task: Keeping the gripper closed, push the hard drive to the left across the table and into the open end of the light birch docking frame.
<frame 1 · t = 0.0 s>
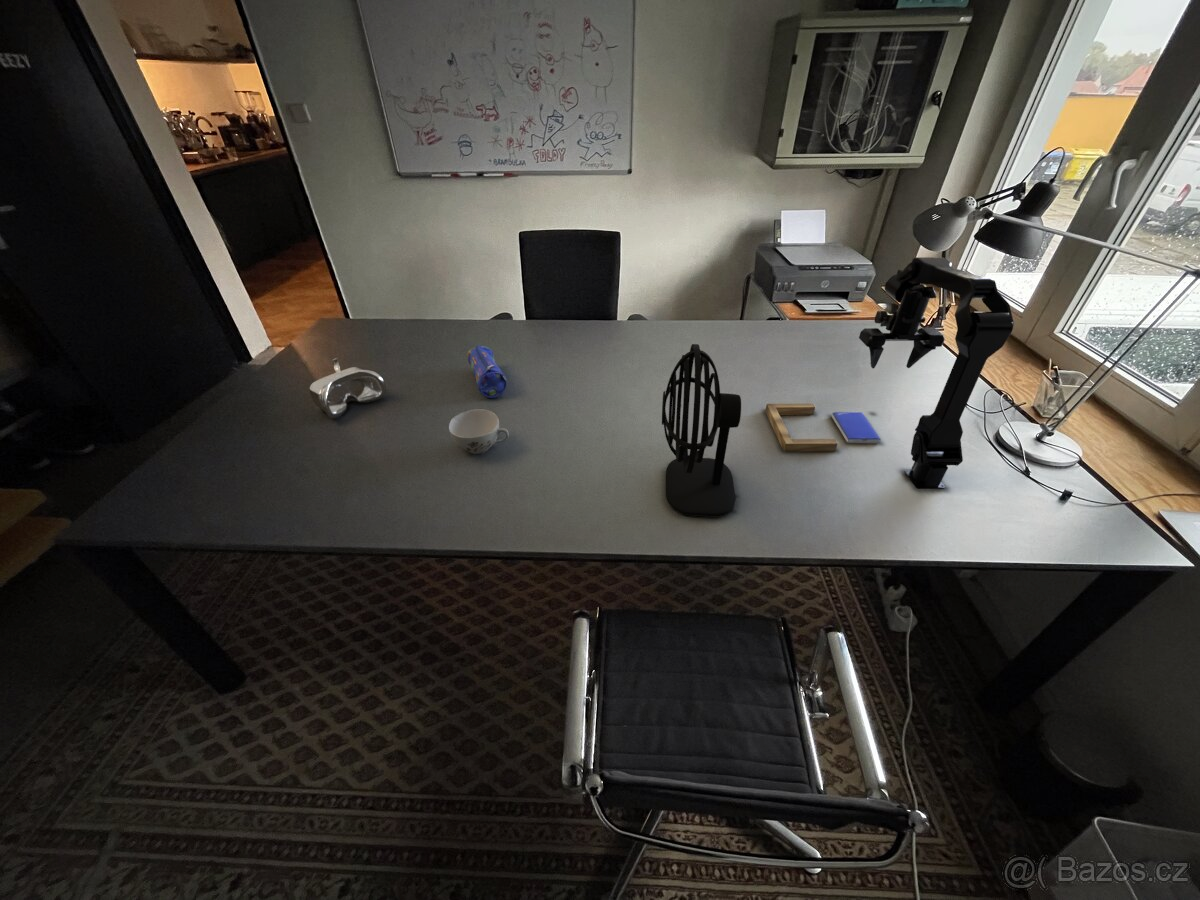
hand: (890, 367, 132), 15 cm above the table, tool pointing down, fingers open, 9 cm apart
teacup: (483, 448, 132), on the table
pencil case: (488, 383, 159), on the table
hard drive: (854, 430, 135), on the table
dock: (801, 430, 135), on the table
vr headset: (352, 406, 149), on the table
desk fan: (694, 487, 118), on the table
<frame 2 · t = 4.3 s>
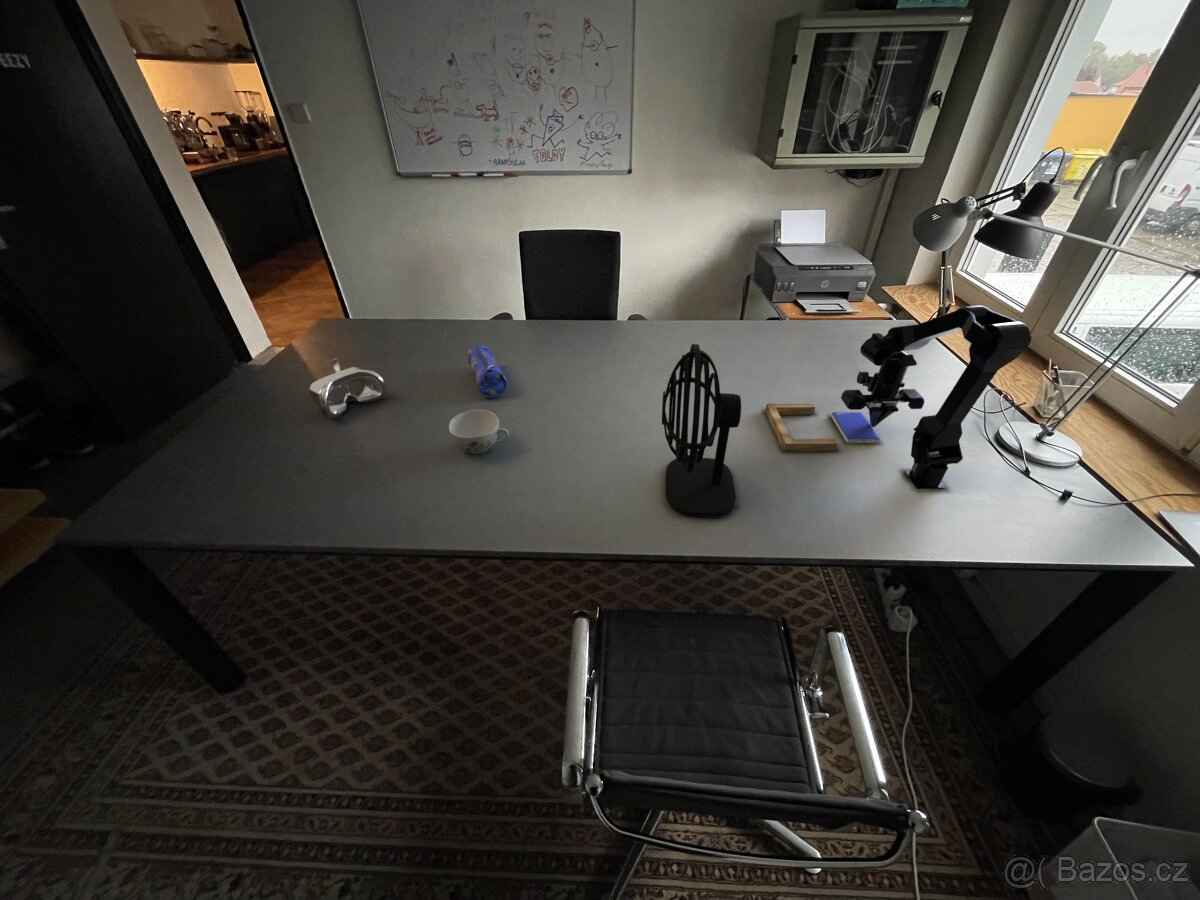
hand: (872, 426, 135), 1 cm above the table, tool pointing down, fingers closed
hard drive: (853, 430, 135), on the table, touching gripper
everything else where it was.
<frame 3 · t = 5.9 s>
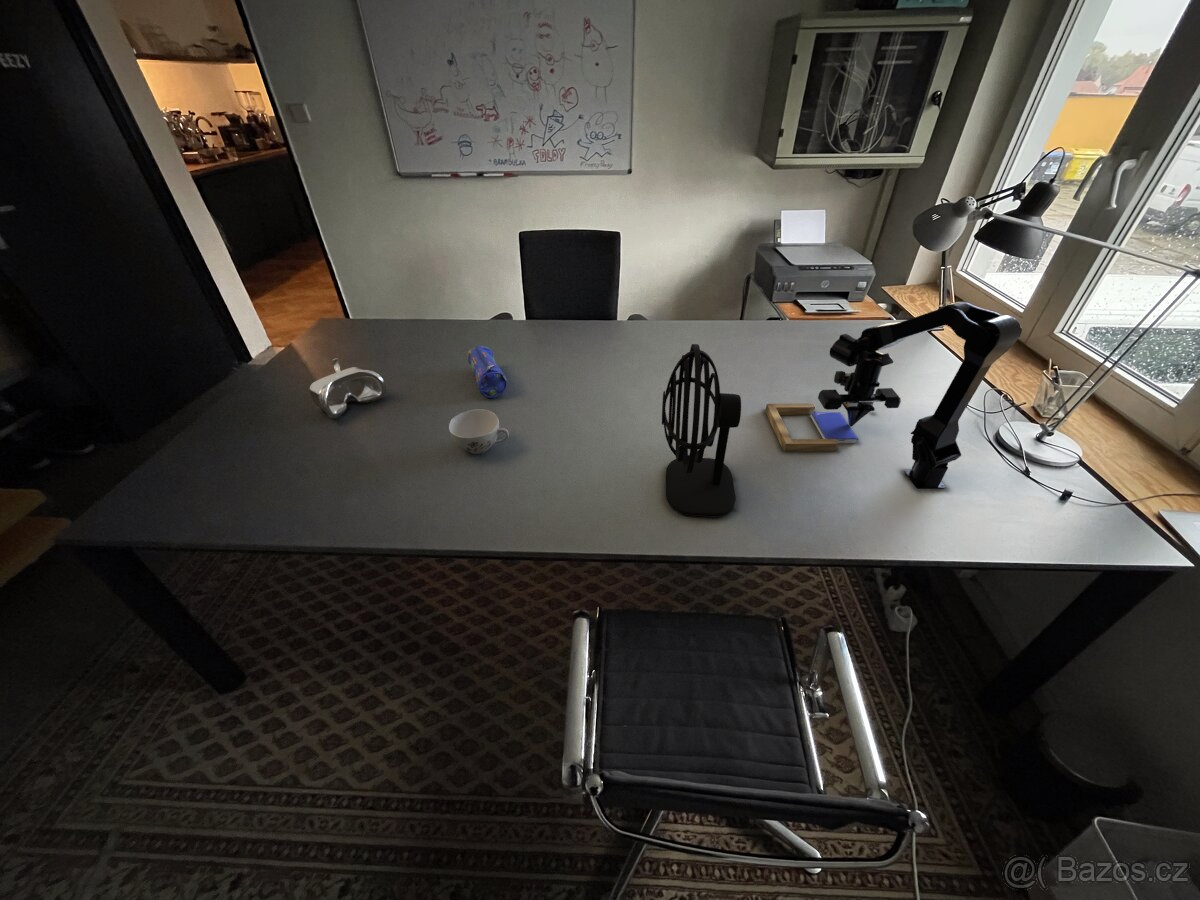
hand: (850, 425, 135), 1 cm above the table, tool pointing down, fingers closed
hard drive: (832, 430, 135), on the table, touching gripper
everything else where it was.
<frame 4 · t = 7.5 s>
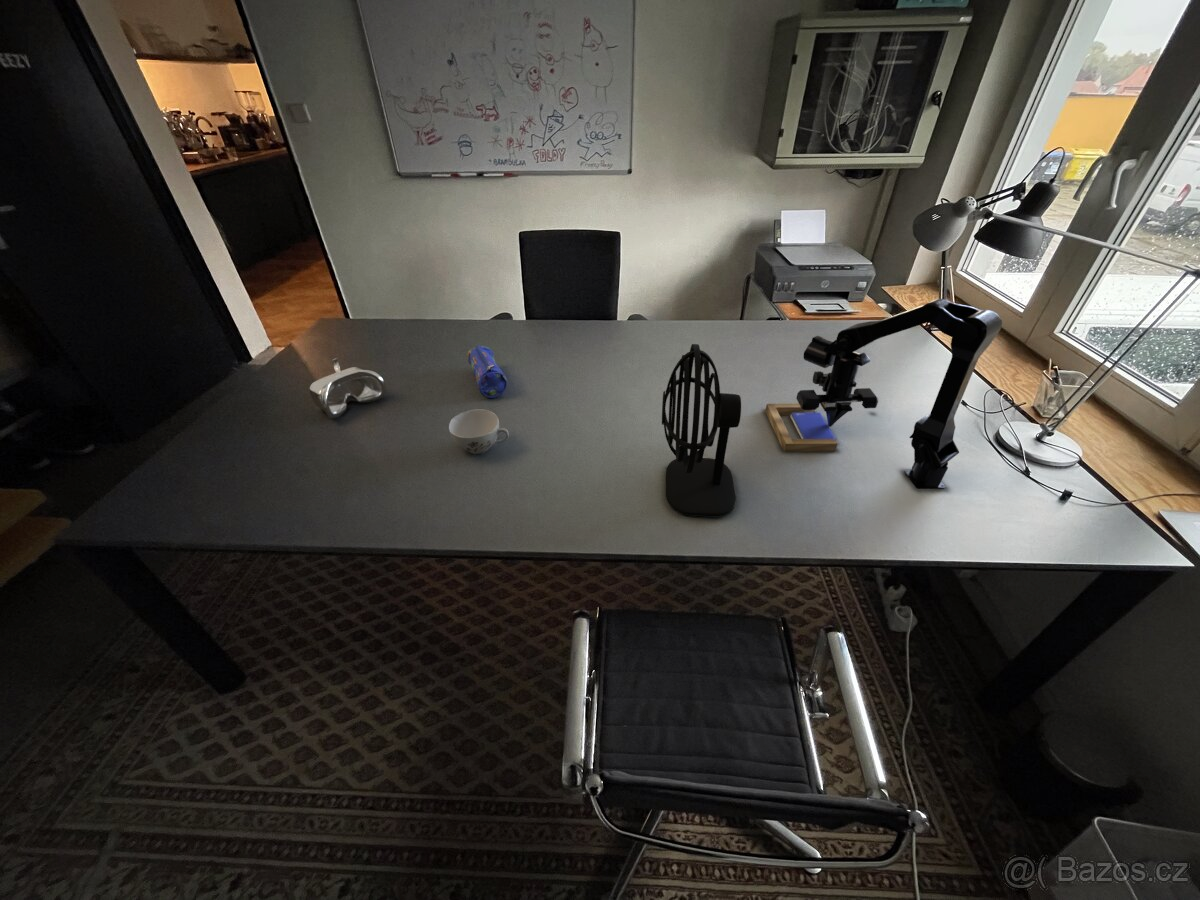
hand: (829, 425, 135), 1 cm above the table, tool pointing down, fingers closed
hard drive: (811, 430, 136), on the table, touching gripper
everything else where it was.
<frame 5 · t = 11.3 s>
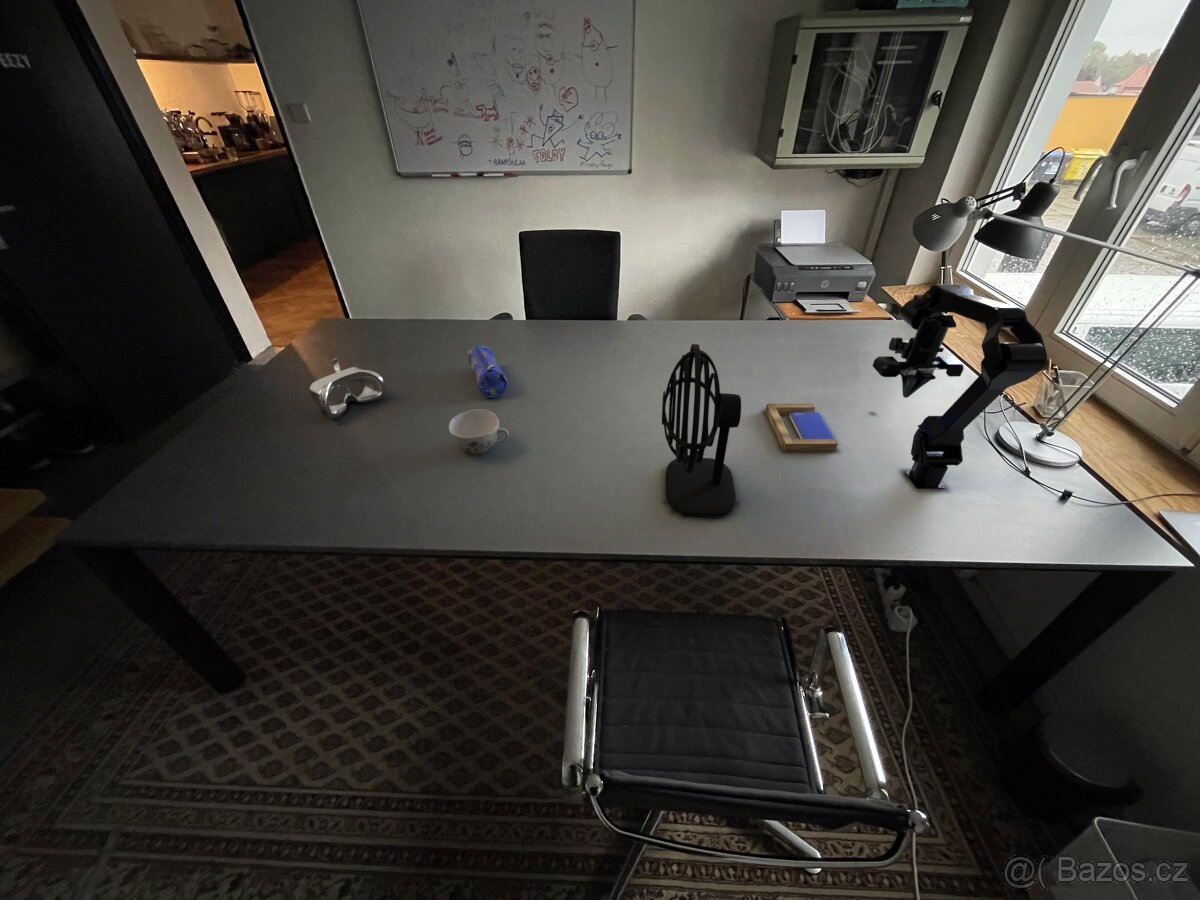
hand: (905, 396, 125), 12 cm above the table, tool pointing down, fingers closed
hard drive: (810, 430, 136), on the table
everything else where it was.
at the end: hard drive inside the target area (3.1 cm from its centre), on the table; hard drive tilted 1° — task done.
